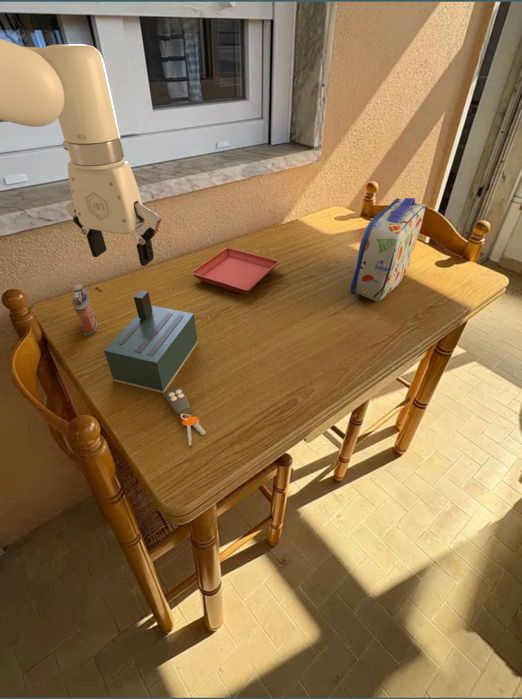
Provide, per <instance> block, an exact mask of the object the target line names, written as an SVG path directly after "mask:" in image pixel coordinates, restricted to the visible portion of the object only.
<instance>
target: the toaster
mask: <svg viewBox="0 0 522 699" xmlns="http://www.w3.org/2000/svg"><path fill="white" fill-rule="evenodd" d="M151 307H152V311H153V313H152V314H151V315H150V317H149V318H148V319H147V320H145V319H140V318H139V317H138V314H137V315H135V317H133V319H132V320H131V321H130V322H129V323H128V324H127V325H126V326H125V327H124V329H122V331H121V332H120V333H119V334H118V335H117V336H116V337H115V338H114V339H113V340H112V341H111V342H110V343H109V344H108V345H107V346H106V347H105V348H104V349H103V353H104V356H105V359H106V362H107V364H108V368H109V371H110V374H111V377H112V381H113V382H116V383H119V384H124V385H128V386H131V387H134V388H135V387H136V388H140V389H143V390H148V391H151V392H156V393H159V394H163V395H164V394H166V391H167V390H168V388H169V387H170V385H171V384H172V382H173V381H174V379H175V378H176V376H178V374H179V372H180V370H181V369H182V367H183V366H184V365H185V363H186V362H187V360H188V358H189V357H190V356H191V355H192V353H193V351H194V349H195V348H196V347H197V346H198V344H199V340H198V334H197V327H196V319H195V313H193V312H188V311H182V310H178V309H173V308H167V307H162V306H156V305H152V304H151Z"/></svg>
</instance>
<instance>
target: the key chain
mask: <svg viewBox="0 0 522 699" xmlns="http://www.w3.org/2000/svg"><path fill="white" fill-rule="evenodd" d="M164 394H165V399H166V402H168V404H169V406H170V407H171V409H172V410H173V411H174V413H175V414H176V415H178V416H179V417H180V419H181V424H182V425H183V426H184V427H186V430H187V440H188V446H189V447H190V446H192V440H193V439H192V438H193V437H192V427H193V428H195V430H196V431H197V432H198V433H199V435H201V436H204V435H206V434H207V431H205V429H204V428H203V427H202V426H201V424H200V418H199V417H198V416H192V415H191V414H190V412H191V404H190V401H189V400H188V397H187V395H186V394H185V391H184V389H183V388H182V387H176V388H173V389H172V388H171V389H170V390H169V391H167V392H165V393H164ZM183 416H184V417H183Z"/></svg>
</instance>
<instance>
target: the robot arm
mask: <svg viewBox="0 0 522 699" xmlns="http://www.w3.org/2000/svg"><path fill="white" fill-rule="evenodd" d="M108 79H109V78H108V74H107V69H106V65H105V60H104V58H103V56H102V54H101V52H100V51H99V50H98V48H96V47H95V46H93V45H89V44H84V43H83V44H82V43H81V44H80V43H79V44H78V43H77V44H76V43H63V44H61V43H60V44H51V45H47V46H45V47H35V46H23V45H19V44H16V43H14V42H11V41H9V40H6V39H3V38H0V120H1V121H3V122H4V121H5V122H8V123H12V124H17V125H20V126H25V127H32V128H38V127H45V126H49V125H50V124H52V123H54V122H55V121H57V119H58V122H59V126H60V129H61V132H62V135H63V141H62V147H63V150H65V151H67V152H68V155H69V156H68V157H69V159H70V160H69V161H68V162H67V174H68V175H67V176H68V182H69V188H70V194H71V198H72V201H71V202H70V203H68V204H66V205H65V210H66V211H67V213H68V214H69V216H70V217H71V218H72V220H73V223H74V224H75V225H76V226H78V228H79V229H81V230H80V231H81V233H82V235H84V236H86V240H87V243H88V245H89V248H90V252H91V256H92V257H93V258H98V257H100V256H101V255H103V254H104V253H105V252H106V251H107V250H108V249H107V246H106V242H105V239H104V235H103V232H106V233H113V234H119V235H129V234H131V235H132V236H133V238H134V239H135V240H136V241H137V242H138V243H136V250H137V253H138V254H137V255H138V259H139V263H140V265H141V266H142V267H146V266H147V265H148V264H149V263H151V262H152V261H153V260H154V249H153V243H152V239H154V236H155V235H156V234H157V233H158V232H159V227H160V224H161V222H162V217H161V216H160V215H159V214H157V213H156V212H154V211H152V210H151V209H149V208H148V207H146V206H144V204H143V201H142V198H141V194H140V191H139V187H138V184H137V181H136V178H135V175H134V173H133V170H132V167H131V165H130V162H129V161H128V160H126V159H125V154H124V149H123V145H122V139H121V135H120V131H119V126H118V121H117V117H116V111H115V108H114V103H113V98H112V92H111V89H110V83H109V80H108ZM146 222H147V224H148V226H147V225H146V224H145V223H146Z"/></svg>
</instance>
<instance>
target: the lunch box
mask: <svg viewBox="0 0 522 699" xmlns="http://www.w3.org/2000/svg"><path fill="white" fill-rule="evenodd" d="M425 212H426V204H424V203H420V202H419V203H418V202H416V198H415V197H405V198H398V197H397V198H394V200H393V201H392V202H391V203H390V204H389V205H388V206H387V207H385V208H384V209H383V210H382V211H381V212H379V213H378V214H376V216H374V217H373V218H372V219H371V220H370V221H369V222H368V224H367V225H366V227H365V230H364V232H363V234H362V237H361V239H360V243H359V248H358V252H357V258H356V261H355V266H354V270H353V275H352V279H351V283H350V287H349V291H350V294H352V295H356V294H357V295H359V296H361V297H364V298H367V299H369V300H371V301H372V302H373V301H374V302H375V303H379V302H381V301H382V300H383V299H384V298H386V297H387V296H388V295H389V294H390V293H391V292H392V291H393V290H395V289H396V288H397V287H398V286H399V285H400V283H401V281H402V280H403V278H404V277H405V275H406V274H407V271H408V269H409V265H410V262H411V258H412V254H413V252H414V249H415V246H416V243H417V240H418V238H419V235H420V231H421V229H422V224H423V219H424V215H425Z"/></svg>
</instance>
